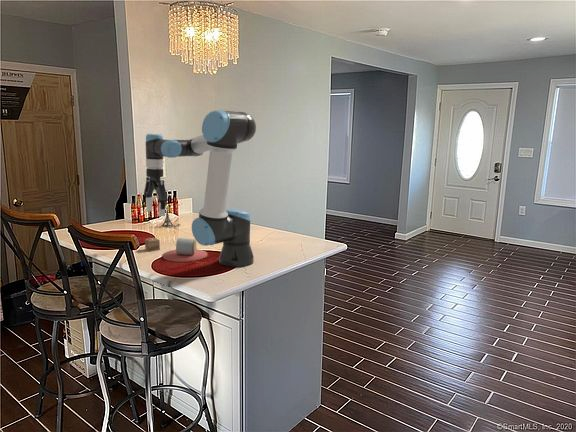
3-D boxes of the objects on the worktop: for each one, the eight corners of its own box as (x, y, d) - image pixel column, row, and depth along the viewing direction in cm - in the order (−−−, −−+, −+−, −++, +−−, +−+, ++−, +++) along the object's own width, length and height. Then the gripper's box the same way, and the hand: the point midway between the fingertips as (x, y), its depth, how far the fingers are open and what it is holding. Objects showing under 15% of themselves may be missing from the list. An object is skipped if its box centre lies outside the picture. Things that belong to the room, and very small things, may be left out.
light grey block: (194, 256, 197) (194, 240, 195) (175, 256, 196) (175, 239, 195) (197, 250, 207) (197, 235, 206) (180, 250, 207) (180, 234, 205)
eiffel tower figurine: (154, 229, 255) (153, 206, 253) (154, 225, 265) (153, 203, 262) (180, 228, 259) (180, 205, 257) (179, 224, 269) (179, 203, 266)
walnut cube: (159, 249, 209) (159, 239, 208) (149, 251, 206) (149, 240, 205) (155, 247, 213) (154, 237, 212) (145, 249, 210) (144, 238, 209)
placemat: (215, 256, 199) (215, 255, 199) (175, 264, 186) (175, 263, 186) (193, 247, 214) (193, 246, 214) (154, 254, 201) (154, 253, 201)
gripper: (175, 170, 194) (175, 217, 199) (151, 165, 213) (151, 208, 217) (159, 171, 189) (159, 219, 194) (135, 165, 208) (137, 209, 212)
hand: (155, 213), depth 205 cm, fingers open, 13 cm apart
